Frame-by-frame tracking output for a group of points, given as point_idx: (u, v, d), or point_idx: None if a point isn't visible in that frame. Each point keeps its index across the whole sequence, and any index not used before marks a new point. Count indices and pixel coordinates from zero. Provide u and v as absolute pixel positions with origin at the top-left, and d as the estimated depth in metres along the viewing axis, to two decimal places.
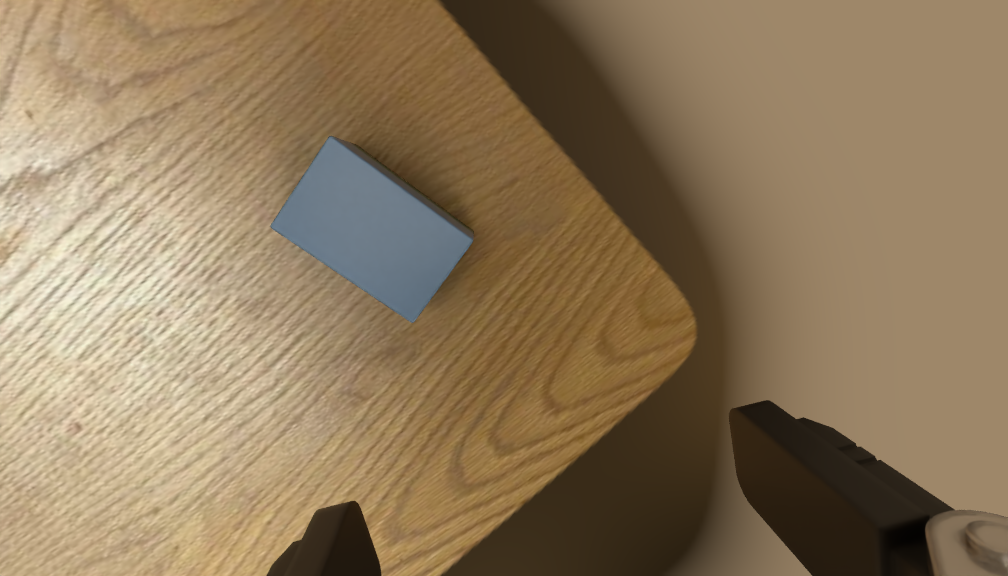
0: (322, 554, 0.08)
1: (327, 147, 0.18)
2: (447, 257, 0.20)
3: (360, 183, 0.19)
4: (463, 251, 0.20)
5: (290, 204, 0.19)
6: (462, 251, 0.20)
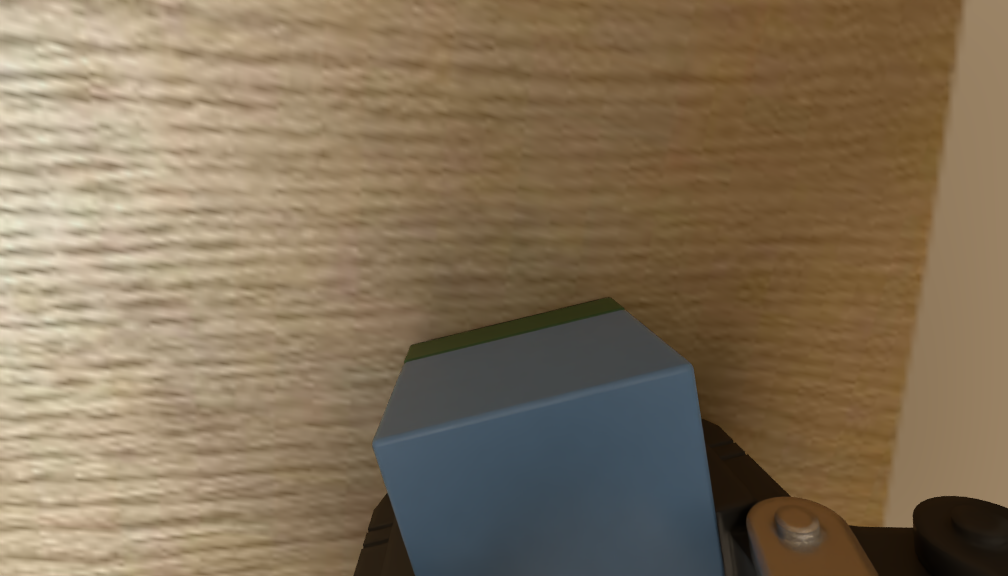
0: None
1: (663, 385, 0.06)
2: None
3: (657, 503, 0.07)
4: None
5: (467, 436, 0.06)
6: None
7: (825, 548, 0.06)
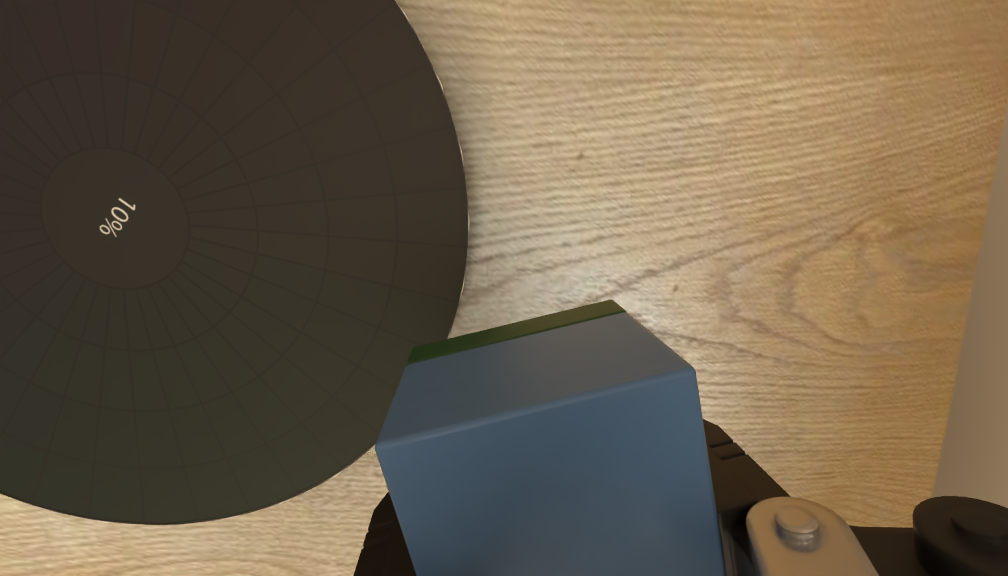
0: None
1: (664, 388, 0.06)
2: None
3: (658, 507, 0.07)
4: None
5: (470, 439, 0.06)
6: None
7: (825, 548, 0.06)
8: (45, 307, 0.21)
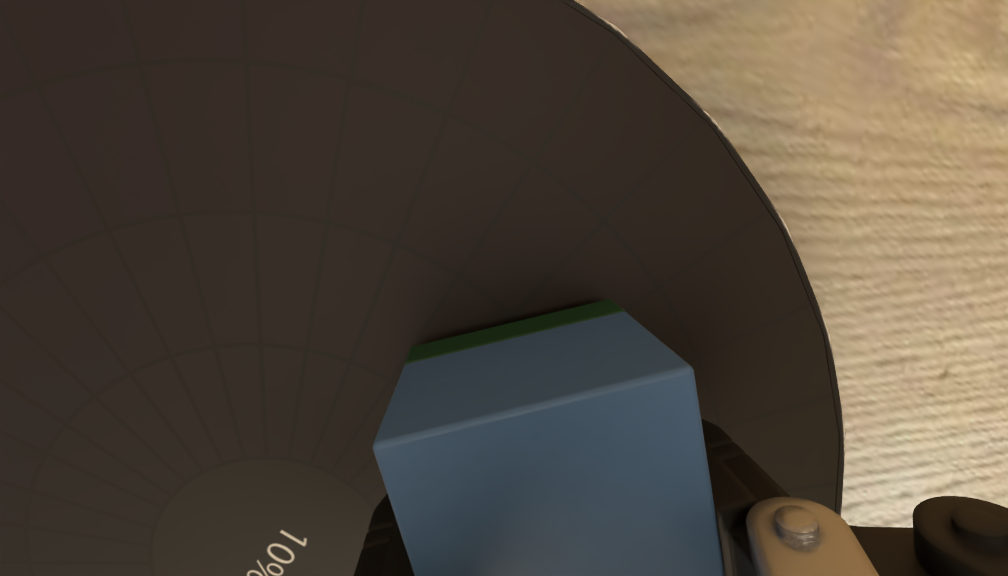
0: None
1: (663, 388, 0.06)
2: None
3: (656, 506, 0.07)
4: None
5: (467, 438, 0.06)
6: None
7: (825, 548, 0.06)
8: None
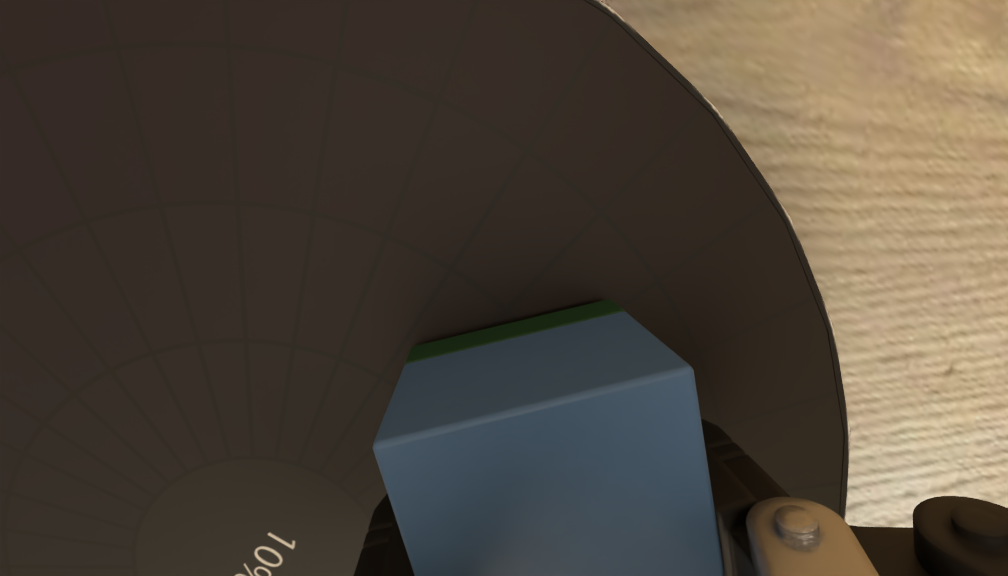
0: None
1: (663, 387, 0.06)
2: None
3: (656, 506, 0.07)
4: None
5: (467, 438, 0.06)
6: None
7: (825, 548, 0.06)
8: None
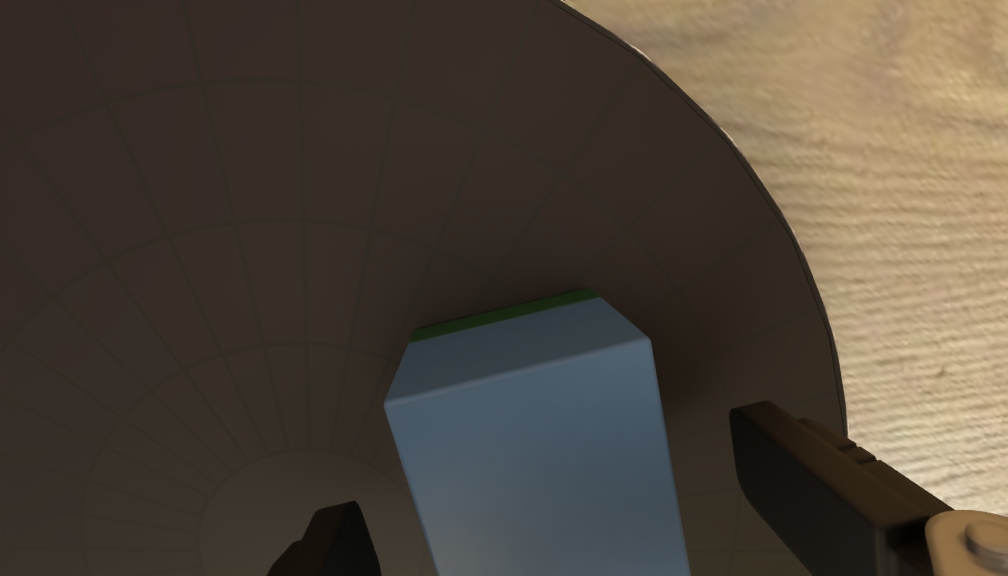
0: (322, 554, 0.08)
1: (625, 355, 0.08)
2: None
3: (622, 456, 0.08)
4: None
5: (462, 397, 0.08)
6: None
7: None
8: None
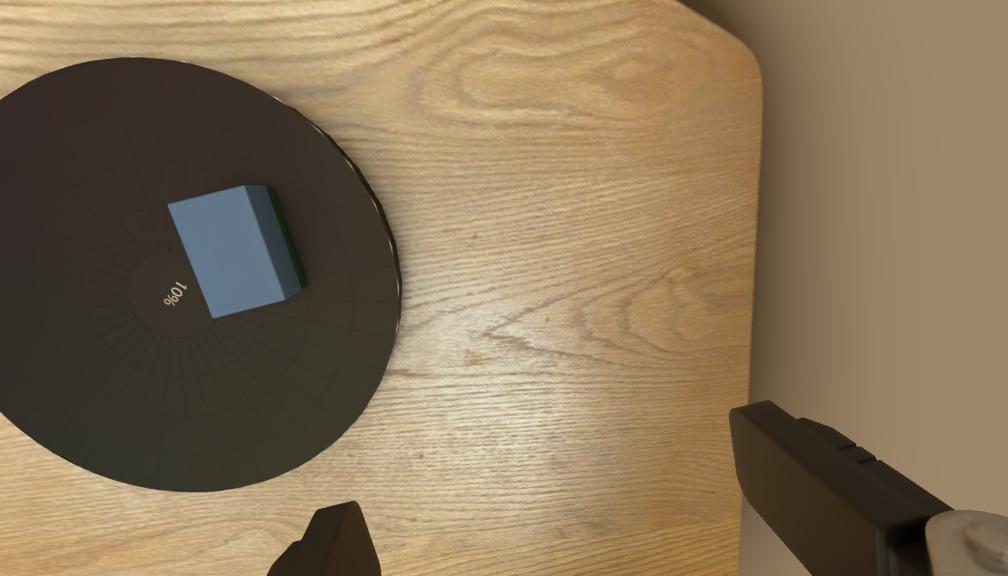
0: (322, 554, 0.08)
1: (236, 190, 0.27)
2: (262, 297, 0.28)
3: (241, 222, 0.27)
4: (274, 301, 0.28)
5: (190, 202, 0.27)
6: (274, 300, 0.28)
7: None
8: (129, 351, 0.32)
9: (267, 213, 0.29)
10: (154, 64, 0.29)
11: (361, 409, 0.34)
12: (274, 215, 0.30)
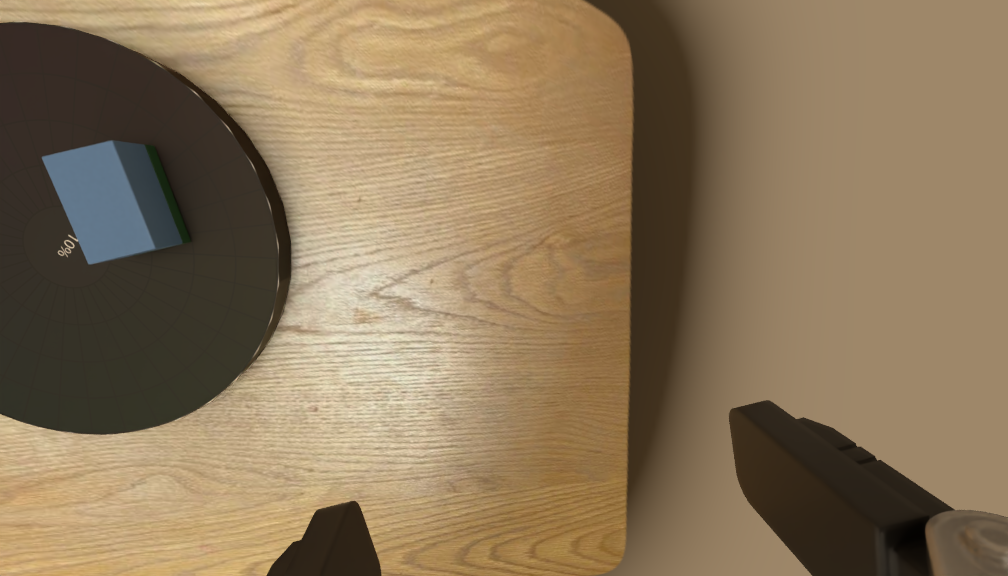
0: (322, 554, 0.08)
1: (105, 144, 0.29)
2: (133, 246, 0.30)
3: (111, 175, 0.29)
4: (145, 249, 0.30)
5: (62, 155, 0.29)
6: (145, 249, 0.30)
7: None
8: (27, 299, 0.35)
9: (142, 169, 0.31)
10: (39, 29, 0.31)
11: (247, 359, 0.37)
12: (152, 172, 0.32)
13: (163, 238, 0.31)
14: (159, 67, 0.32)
